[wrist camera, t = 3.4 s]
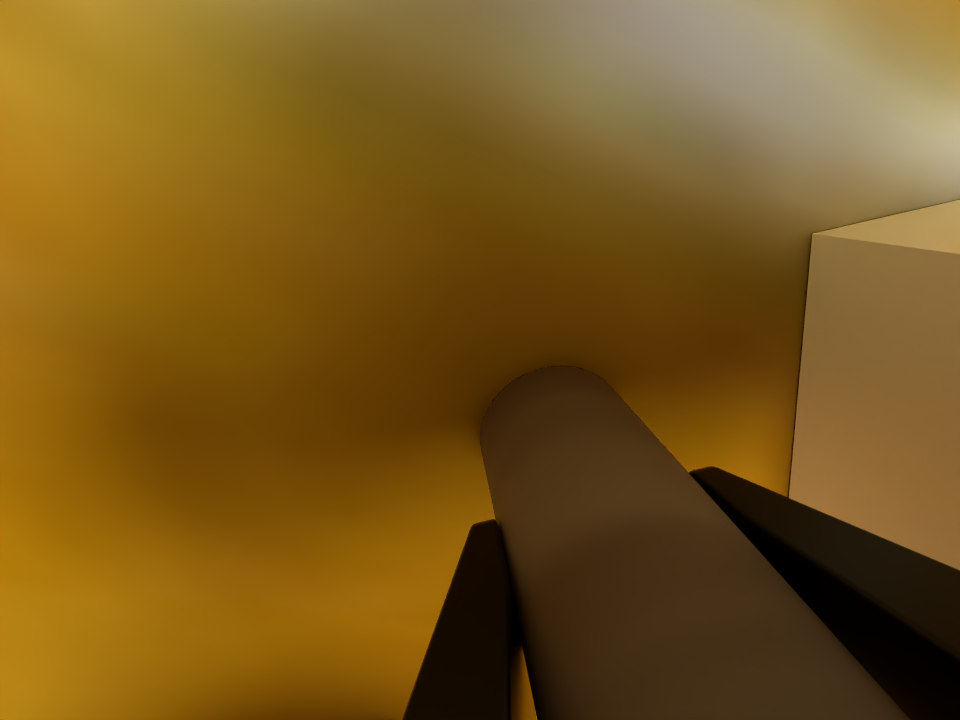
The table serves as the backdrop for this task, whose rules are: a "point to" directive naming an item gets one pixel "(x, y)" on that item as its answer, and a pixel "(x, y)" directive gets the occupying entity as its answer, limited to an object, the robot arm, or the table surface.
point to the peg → (645, 576)
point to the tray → (884, 380)
